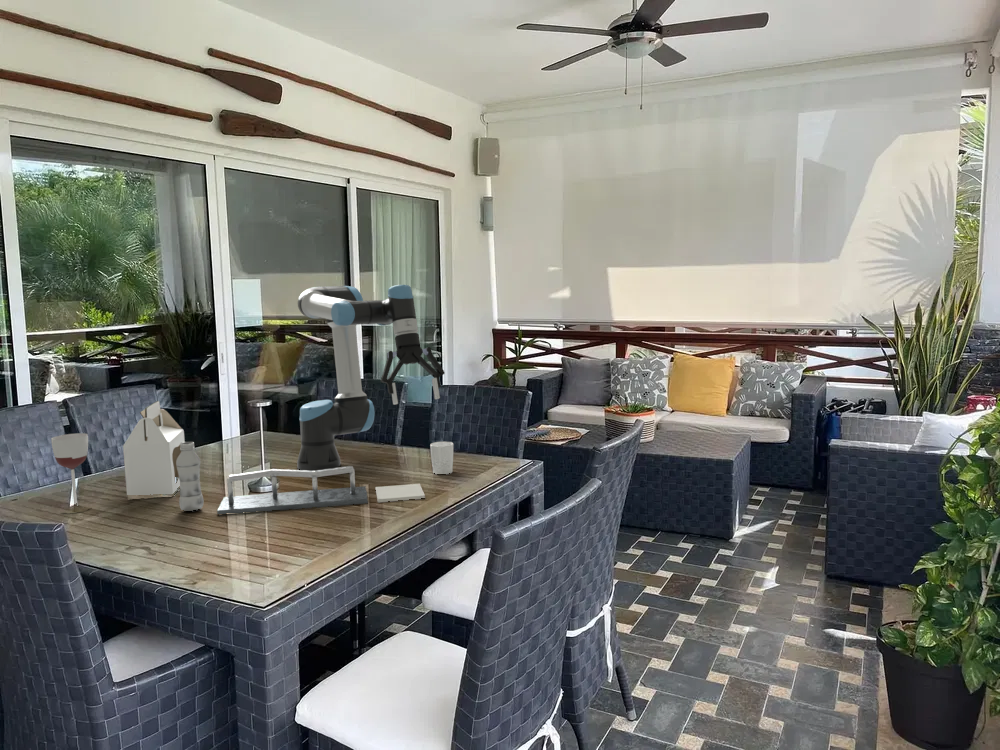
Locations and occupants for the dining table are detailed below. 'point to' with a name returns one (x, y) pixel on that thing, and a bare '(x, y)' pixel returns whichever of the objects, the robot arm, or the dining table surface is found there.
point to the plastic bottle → (189, 478)
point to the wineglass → (70, 453)
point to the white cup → (442, 457)
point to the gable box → (153, 453)
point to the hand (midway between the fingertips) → (416, 401)
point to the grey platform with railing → (292, 498)
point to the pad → (399, 492)
